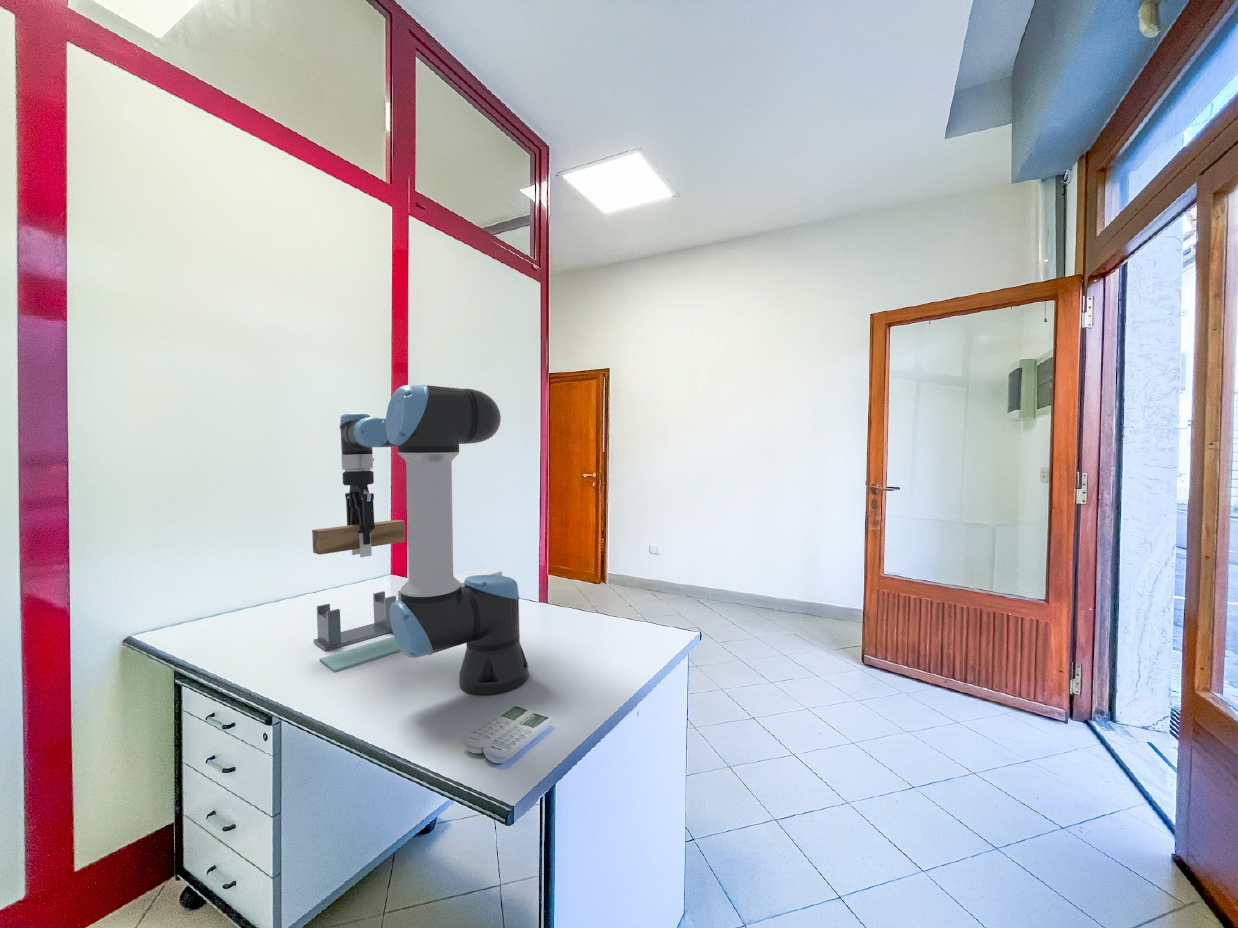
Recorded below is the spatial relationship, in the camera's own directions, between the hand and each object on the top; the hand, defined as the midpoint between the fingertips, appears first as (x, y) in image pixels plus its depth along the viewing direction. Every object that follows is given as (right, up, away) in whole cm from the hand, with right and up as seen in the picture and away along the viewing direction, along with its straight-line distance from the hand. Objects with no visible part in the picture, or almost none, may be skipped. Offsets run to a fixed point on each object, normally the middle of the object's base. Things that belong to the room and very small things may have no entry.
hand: (361, 555), depth 136 cm
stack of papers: (+18, -23, +24) cm, 37 cm away
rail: (0, +2, 0) cm, 2 cm away
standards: (-3, -24, +4) cm, 24 cm away
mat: (+7, -24, -6) cm, 26 cm away
